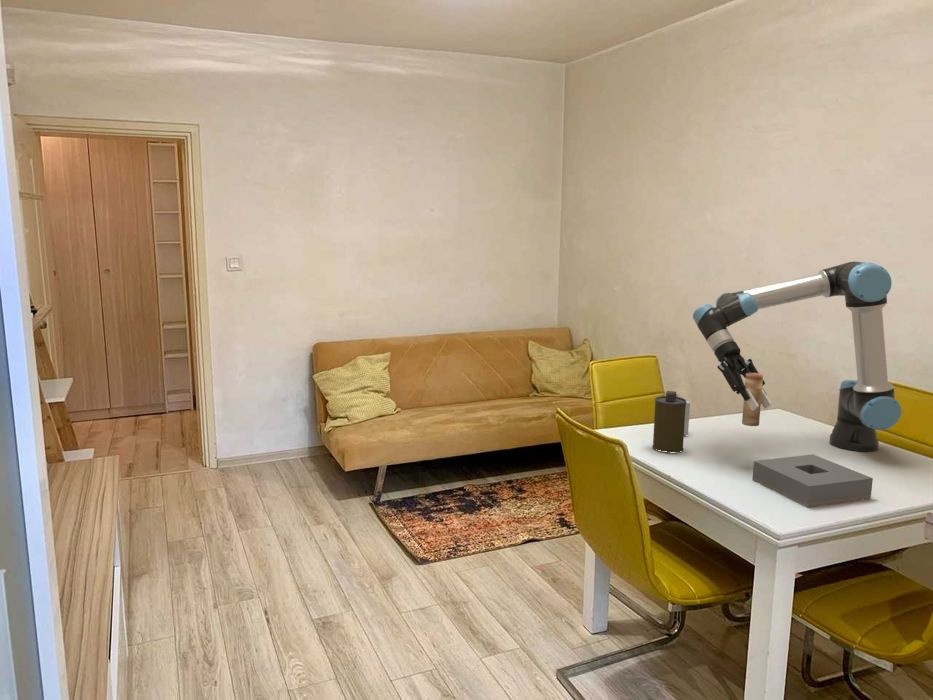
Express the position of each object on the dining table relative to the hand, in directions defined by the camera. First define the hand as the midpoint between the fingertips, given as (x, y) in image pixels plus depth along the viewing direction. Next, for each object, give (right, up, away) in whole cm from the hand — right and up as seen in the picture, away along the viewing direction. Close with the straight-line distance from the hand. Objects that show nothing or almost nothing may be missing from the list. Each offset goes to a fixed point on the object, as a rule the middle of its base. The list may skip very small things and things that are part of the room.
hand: (761, 407), depth 219 cm
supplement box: (-14, -13, +42) cm, 47 cm away
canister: (-22, -16, +24) cm, 37 cm away
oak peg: (-2, -6, +4) cm, 7 cm away
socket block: (+9, -23, -13) cm, 27 cm away
